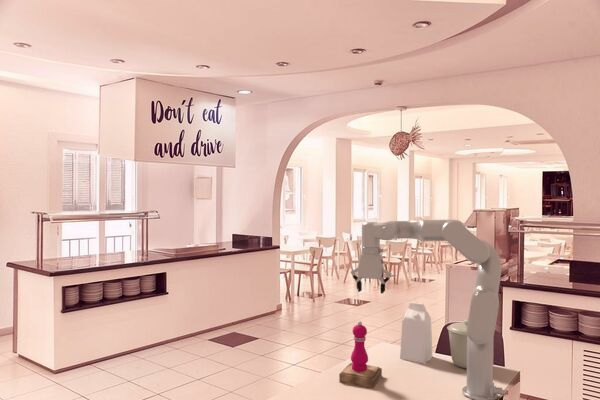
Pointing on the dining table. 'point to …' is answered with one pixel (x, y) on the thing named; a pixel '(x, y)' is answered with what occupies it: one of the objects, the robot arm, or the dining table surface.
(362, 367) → the pepper mill
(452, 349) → the canister
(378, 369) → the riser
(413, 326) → the milk
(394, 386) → the dining table surface
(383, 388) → the dining table surface
